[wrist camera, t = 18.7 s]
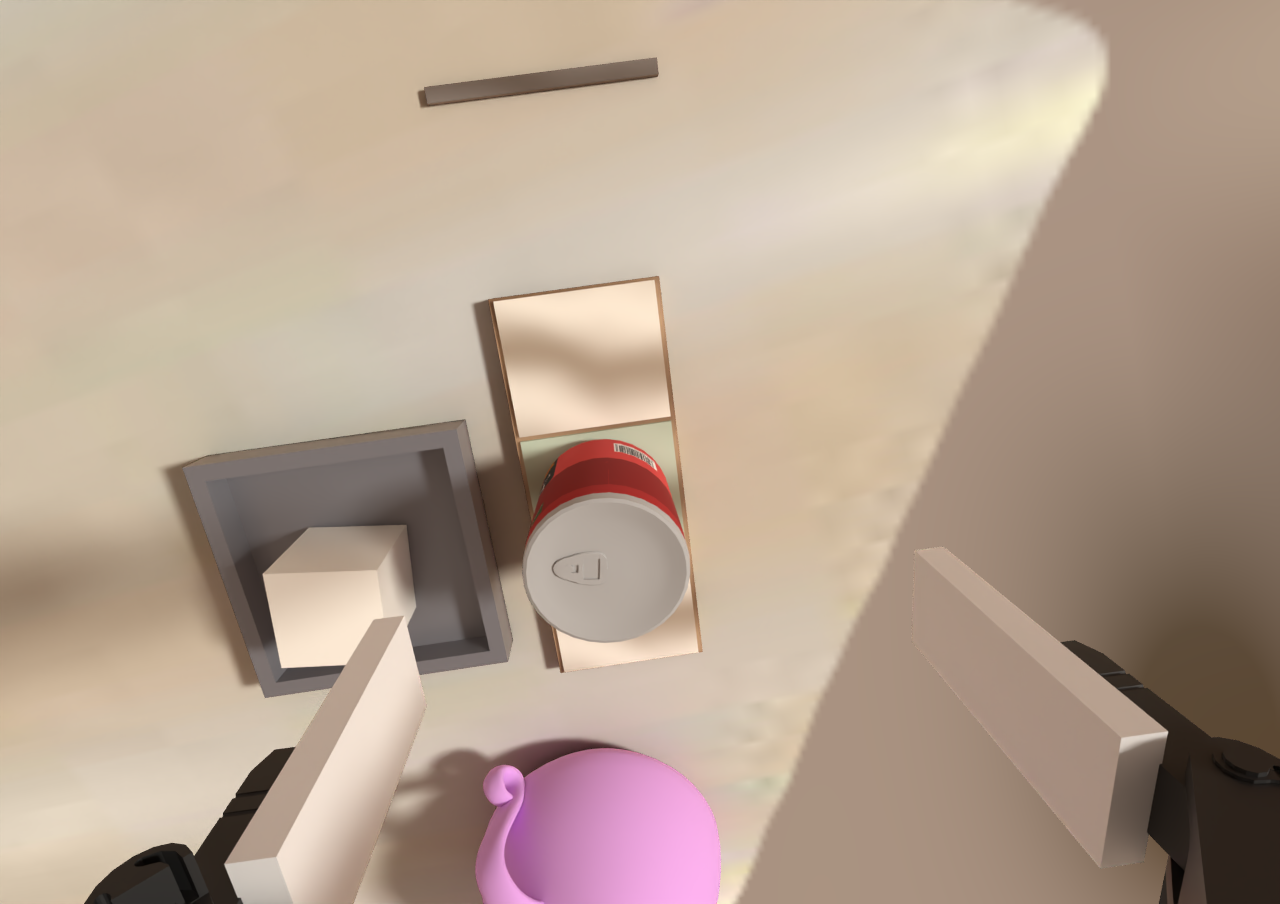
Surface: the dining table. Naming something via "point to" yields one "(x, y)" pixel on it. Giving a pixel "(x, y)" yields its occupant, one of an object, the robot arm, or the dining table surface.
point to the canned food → (605, 545)
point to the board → (589, 377)
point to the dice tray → (360, 496)
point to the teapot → (598, 834)
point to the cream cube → (337, 591)
